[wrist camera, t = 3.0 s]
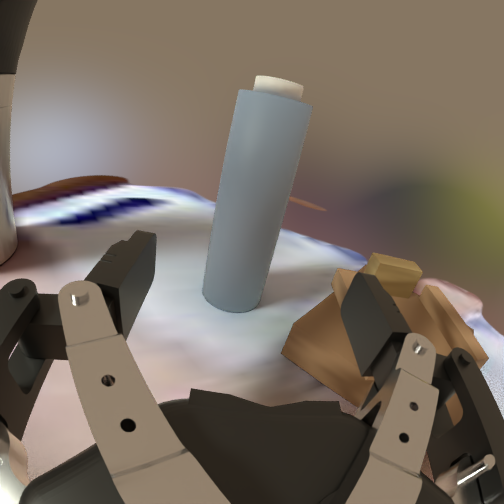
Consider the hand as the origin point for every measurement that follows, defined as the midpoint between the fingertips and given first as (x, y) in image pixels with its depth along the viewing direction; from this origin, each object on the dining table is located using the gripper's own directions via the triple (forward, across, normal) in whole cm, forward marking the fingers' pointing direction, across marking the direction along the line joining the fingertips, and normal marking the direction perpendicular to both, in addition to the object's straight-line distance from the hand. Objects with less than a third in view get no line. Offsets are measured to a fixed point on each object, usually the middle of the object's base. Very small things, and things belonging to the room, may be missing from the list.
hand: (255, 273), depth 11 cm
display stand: (+5, -14, +9) cm, 17 cm away
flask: (+10, 0, +9) cm, 14 cm away
